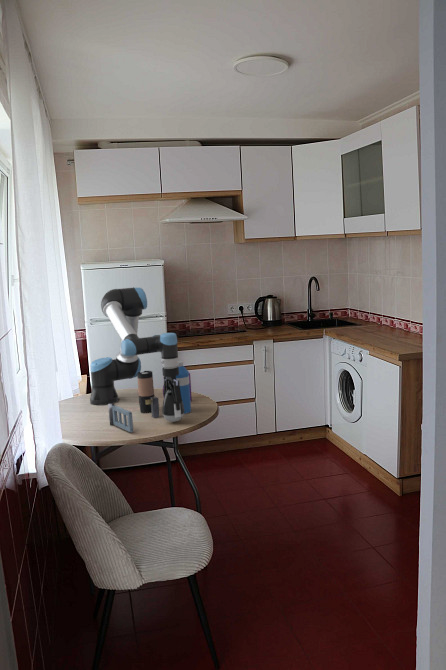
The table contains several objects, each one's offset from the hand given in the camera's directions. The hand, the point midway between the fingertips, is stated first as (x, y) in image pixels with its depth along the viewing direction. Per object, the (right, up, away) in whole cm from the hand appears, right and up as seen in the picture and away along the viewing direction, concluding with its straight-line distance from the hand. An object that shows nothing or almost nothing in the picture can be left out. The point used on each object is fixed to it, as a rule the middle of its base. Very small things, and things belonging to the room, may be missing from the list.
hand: (173, 414), depth 261 cm
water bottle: (+2, -1, +18) cm, 18 cm away
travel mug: (-15, -2, +22) cm, 27 cm away
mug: (-1, +1, +36) cm, 36 cm away
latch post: (-11, -3, +11) cm, 16 cm away
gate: (-22, -5, -7) cm, 24 cm away
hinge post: (-28, -5, +2) cm, 29 cm away
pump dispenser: (0, -3, 0) cm, 3 cm away
